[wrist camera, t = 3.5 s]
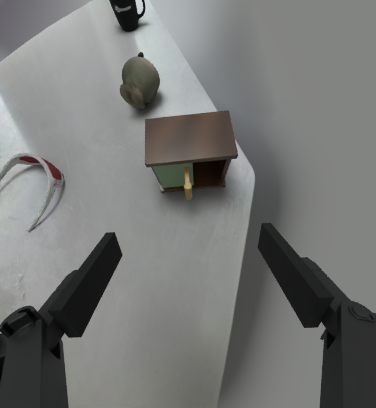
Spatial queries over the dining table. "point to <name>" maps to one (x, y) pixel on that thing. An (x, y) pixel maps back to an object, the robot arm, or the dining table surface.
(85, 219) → the dining table surface
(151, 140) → the cupboard
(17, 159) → the sunglasses
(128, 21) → the mug
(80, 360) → the dining table surface
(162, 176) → the sliding door
